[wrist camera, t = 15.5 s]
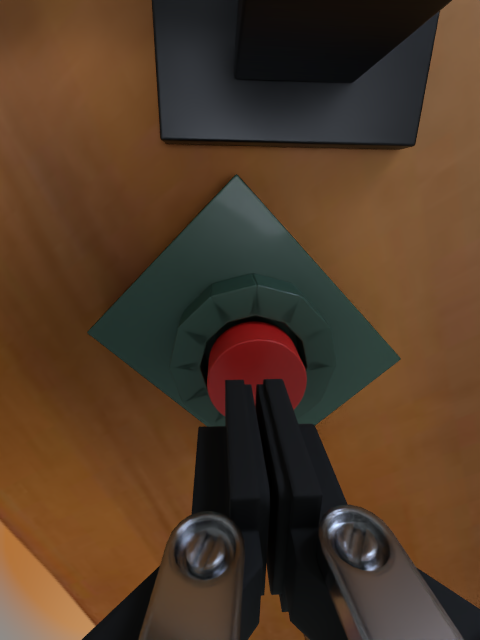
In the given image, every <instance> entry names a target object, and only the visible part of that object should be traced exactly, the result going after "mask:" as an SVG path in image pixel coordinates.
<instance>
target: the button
mask: <svg viewBox="0 0 480 640" xmlns="http://www.w3.org/2000/svg"><path fill="white" fill-rule="evenodd" d="M264 379H283V381H284V384H285V387H286V390H287V393H288V395H289V398H290V401H291V404H292V407H293V410H294V409H295V408H296V407H297V406H298V404H299V403H300V401H301V399H302V397H303V395H304V392H305V389H306V384H307V376H306V370H305V367H304V365H303V362H302V360H301V358H300V356H299V354H298V352H297V350H296V347H295V345H294V343H293V341H292V340H291V338H290V337H289V336H288V335H287V334H286V333H285V332H284V331H283V330H281V329H280V328H278V327H277V326H274V325H272V324H269V323H265V322H258V321H252V322H244V323H240V324H237V325H235V326H233V327H231V328H229V329H228V330H226V331H225V332H224V333H222V334H221V335H220V336H219V337H218V339H217V340H216V341H215V343H214V345H213V347H212V349H211V352H210V356H209V364H208V377H207V390H208V394H209V397H210V399H211V402H212V403H213V405H214V406H215V408H216V409H217V410H218V411H219V412H220V413H221V414H222V415H224V416H225V380H244V384H251V386H252V391H253V397H254V403H255V404H256V385H257V384H263V380H264Z"/></svg>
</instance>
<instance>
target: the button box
mask: <svg viewBox="0 0 480 640" xmlns="http://www.w3.org/2000/svg"><path fill="white" fill-rule="evenodd" d="M252 321H258V322H265V323H269V324H272V325H274V326H277V327H278V328H280V329H281V330H283V331H284V332H285V333H286V334H287V335H288V336H289V337H290V338H291V340H292V341H293V343H294V345H295V347H296V350H297V352H298V354H299V356H300V358H301V360H302V362H303V365H304V367H305V370H306V376H307V384H306V389H305V392H304V395H303V397H302V399H301V401H300V403H299V404H298V406H297V407H296V408H295V409H294V413H295V416H296V419H297V421H298V424H313V425H314V426H315V425H316V424H318V423H319V422H320V421H321V420H323V419H324V418H325V417H327V416H328V415H329V414H330V413H332V412H333V411H334V410H336V409H337V408H338V407H340V406H341V405H342V404H343V403H345V402H346V401H347V400H349V399H350V398H351V397H352V396H354V395H355V394H356V393H358V392H359V391H360V390H362V389H363V388H364V387H365V386H367V385H368V384H369V383H371V382H372V381H373V380H375V379H376V378H377V377H378V376H380V375H381V374H382V373H384V372H385V371H386V370H387V369H389V368H390V367H391V366H393V365H394V364H395V363H397V362H398V361H399V360H400V357H399V356H398V355H397V354H396V353H395V351H394V350H393V349H392V348H391V347H390V346H389V345H388V344H387V342H386V341H385V340H384V339H383V338H382V337H381V336H380V335H379V333H378V332H377V331H376V330H375V329H374V328H373V327H372V326H371V324H370V323H369V322H368V321H367V320H366V319H365V318H364V317H363V315H362V314H361V313H360V312H359V311H358V310H357V309H356V308H355V306H354V305H353V304H352V303H351V302H350V301H349V300H348V299H347V297H346V296H345V295H344V294H343V293H342V292H341V291H340V290H339V288H338V287H337V286H336V285H335V284H334V283H333V282H332V281H331V279H330V278H329V277H328V276H327V275H326V274H325V273H324V272H323V270H322V269H321V268H320V267H319V266H318V265H317V264H316V263H315V261H314V260H313V259H312V258H311V257H310V256H309V255H308V254H307V252H306V251H305V250H304V249H303V248H302V247H301V246H300V245H299V243H298V242H297V241H296V240H295V239H294V238H293V237H292V236H291V234H290V233H289V232H288V231H287V230H286V229H285V228H284V227H283V225H282V224H281V223H280V222H279V221H278V220H277V219H276V218H275V216H274V215H273V214H272V213H271V212H270V211H269V210H268V209H267V207H266V206H265V205H264V204H263V203H262V202H261V201H260V200H259V198H258V197H257V196H256V195H255V194H254V193H253V192H252V191H251V189H250V188H249V187H248V186H247V185H246V184H245V183H244V182H243V180H242V179H241V178H240V177H239V176H238V175H237V174H236V175H235V176H234V177H233V178H232V179H231V180H230V181H229V182H228V183H227V184H226V185H225V186H224V187H223V188H222V190H221V191H220V192H219V193H218V194H217V195H216V196H215V197H214V198H213V199H212V200H211V201H210V202H209V203H208V204H207V205H206V206H205V208H204V209H203V210H202V211H201V212H200V213H199V214H198V215H197V216H196V217H195V218H194V219H193V220H192V221H191V222H190V223H189V225H188V226H187V227H186V228H185V229H184V230H183V231H182V232H181V233H180V234H179V235H178V236H177V237H176V238H175V239H174V240H173V241H172V243H171V244H170V245H169V246H168V247H167V248H166V249H165V250H164V251H163V252H162V253H161V254H160V255H159V256H158V257H157V258H156V260H155V261H154V262H153V263H152V264H151V265H150V266H149V267H148V268H147V269H146V270H145V271H144V272H143V273H142V274H141V275H140V276H139V278H138V279H137V280H136V281H135V282H134V283H133V284H132V285H131V286H130V287H129V288H128V289H127V290H126V291H125V292H124V293H123V295H122V296H121V297H120V298H119V299H118V300H117V301H116V302H115V303H114V304H113V305H112V306H111V307H110V308H109V309H108V310H107V311H106V313H105V314H104V315H103V316H102V317H101V318H100V319H99V320H98V321H97V322H96V323H95V324H94V325H93V326H92V327H91V328H90V330H89V331H88V332H87V333H88V334H89V335H91V336H92V337H93V338H94V339H96V340H97V341H98V342H100V343H101V344H102V345H103V346H105V347H106V348H107V349H109V350H110V351H111V352H112V353H114V354H115V355H116V356H118V357H119V358H120V359H121V360H123V361H124V362H125V363H127V364H128V365H129V366H130V367H132V368H133V369H134V370H136V371H137V372H138V373H139V374H141V375H142V376H143V377H144V378H146V379H147V380H148V381H150V382H151V383H152V384H153V385H155V386H156V387H157V388H159V389H160V390H161V391H162V392H164V393H165V394H166V395H168V396H169V397H170V398H171V399H173V400H174V401H175V402H177V403H178V404H179V405H180V406H182V407H183V408H184V409H186V410H187V411H188V412H189V413H191V414H192V415H193V416H195V417H196V418H197V419H198V420H200V421H201V422H202V423H204V424H205V425H206V426H207V427H212V426H225V416H224V415H222V414H221V413H220V412H219V411H218V410H217V409H216V408H215V406H214V405H213V403H212V402H211V399H210V397H209V394H208V390H207V377H208V364H209V356H210V352H211V349H212V347H213V345H214V343H215V341H216V340H217V339H218V337H219V336H220V335H221V334H222V333H224V332H225V331H226V330H228V329H229V328H231V327H233V326H235V325H237V324H240V323H244V322H252Z"/></svg>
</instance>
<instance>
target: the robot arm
mask: <svg viewBox="0 0 480 640" xmlns="http://www.w3.org/2000/svg"><path fill="white" fill-rule="evenodd" d="M266 563H267V571H268V578H269V586H270V592H271V595H276V594H279V596H280V602H281V609H282V612H289V616H290V621H291V622H292V623H293V624H294V625H295V626H296V627H297V628H298V629H299V630H300V631H301V632H302V633H303V634H304V637H305V640H480V609H479V608H477V607H476V606H474V605H473V604H471V603H469V602H468V601H466V600H465V599H463V598H462V597H460V596H459V595H457V594H456V593H454V592H453V591H451V590H450V589H448V588H447V587H445V586H444V585H442V584H441V583H439V582H438V581H436V580H435V579H433V578H431V577H430V576H428V575H427V574H425V573H424V572H422V571H421V570H419V569H418V568H416V567H415V565H414V564H413V562H412V561H411V559H410V558H409V556H408V555H407V553H406V552H405V550H404V549H403V547H402V546H401V544H400V543H399V541H398V540H397V538H396V537H395V535H394V534H393V532H392V531H391V530H390V528H389V527H388V526H387V525H386V524H385V523H384V521H383V520H381V519H380V518H379V517H377V516H376V515H375V514H374V513H372V512H370V511H368V510H366V509H364V508H362V507H358V506H353V505H347V502H346V500H345V497H344V495H343V492H342V490H341V488H340V485H339V483H338V480H337V478H336V475H335V473H334V471H333V468H332V466H331V463H330V461H329V459H328V456H327V454H326V451H325V449H324V446H323V444H322V442H321V439H320V437H319V434H318V432H317V430H316V428H315V426H314V425H313V424H298V421H297V419H296V416H295V413H294V410H293V407H292V404H291V401H290V398H289V395H288V393H287V390H286V387H285V384H284V381H283V379H264V380H263V384H257V385H256V404H255V403H254V397H253V391H252V386H251V384H244V380H225V426H212V427H199V428H198V440H197V452H196V465H195V478H194V490H193V503H192V515H190V516H188V517H187V518H185V519H184V520H182V521H181V522H180V523H179V524H178V525H177V526H176V527H175V528H174V530H173V531H172V532H171V535H170V537H169V539H168V541H167V544H166V547H165V550H164V554H163V557H162V561H161V564H160V566H159V567H158V568H157V569H156V570H155V571H154V572H153V573H152V574H151V575H150V576H148V577H147V578H146V579H145V580H144V581H143V582H142V583H141V584H140V585H139V586H138V587H137V588H136V589H135V590H134V591H133V592H132V593H130V594H129V595H128V596H127V597H126V598H125V599H124V600H123V601H122V602H121V603H120V604H119V605H118V606H117V607H116V608H115V609H114V610H112V611H111V612H110V613H109V614H108V615H107V616H106V617H105V618H104V619H103V620H102V621H101V622H100V623H99V624H98V625H97V626H96V627H95V628H93V629H92V630H91V631H90V632H89V633H88V634H87V635H86V636H85V637H84V638H83V639H82V640H248V639H249V637H250V636H251V634H252V633H253V631H254V630H255V628H256V627H257V625H258V624H259V616H260V599H261V595H264V590H265V575H266Z"/></svg>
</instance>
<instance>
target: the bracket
mask: <svg viewBox="0 0 480 640" xmlns="http://www.w3.org/2000/svg"><path fill="white" fill-rule="evenodd" d="M451 1H452V0H152V12H153V28H154V44H155V60H156V75H157V91H158V107H159V123H160V138H161V140H162V141H164V142H165V143H166V144H188V145H231V146H273V147H315V148H358V149H404V148H408V147H412V146H414V145H415V143H416V138H417V132H418V127H419V121H420V116H421V110H422V105H423V100H424V94H425V89H426V83H427V78H428V72H429V67H430V61H431V56H432V50H433V45H434V40H435V34H436V29H437V23H438V18H439V12H440V10H441V9H442V8H444V7H445V6H446V5H447V4H448V3H450V2H451Z"/></svg>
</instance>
